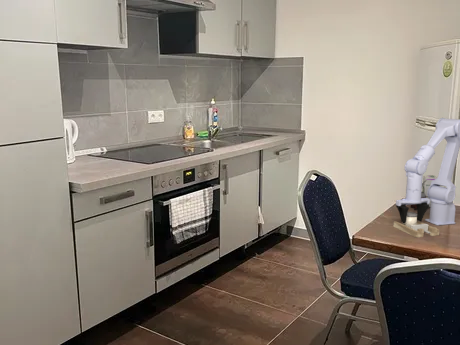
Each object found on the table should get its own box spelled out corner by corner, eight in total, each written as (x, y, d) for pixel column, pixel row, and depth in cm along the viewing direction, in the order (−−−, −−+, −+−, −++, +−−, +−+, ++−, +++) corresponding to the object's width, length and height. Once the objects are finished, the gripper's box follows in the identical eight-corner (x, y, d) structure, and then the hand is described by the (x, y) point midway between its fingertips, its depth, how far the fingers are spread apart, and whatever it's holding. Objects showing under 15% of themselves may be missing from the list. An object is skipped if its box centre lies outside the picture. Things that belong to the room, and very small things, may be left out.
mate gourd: (412, 205, 222) (414, 175, 219) (429, 208, 217) (431, 177, 214) (406, 209, 217) (409, 178, 214) (424, 212, 212) (426, 180, 209)
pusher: (425, 230, 184) (426, 223, 183) (437, 235, 177) (437, 228, 177) (410, 232, 182) (410, 225, 181) (421, 237, 176) (421, 230, 175)
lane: (413, 224, 193) (414, 217, 192) (439, 235, 179) (439, 227, 178) (392, 226, 190) (392, 219, 190) (416, 237, 176) (416, 230, 175)
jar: (418, 228, 188) (419, 213, 187) (412, 230, 184) (413, 216, 183) (406, 225, 192) (407, 210, 190) (399, 227, 188) (400, 213, 187)
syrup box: (436, 207, 220) (438, 177, 217) (423, 206, 221) (425, 177, 218) (433, 204, 225) (435, 175, 223) (420, 203, 226) (423, 174, 224)
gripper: (422, 185, 189) (420, 217, 192) (392, 187, 186) (389, 220, 188) (434, 189, 183) (431, 222, 185) (403, 191, 179) (400, 225, 181)
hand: (411, 221), depth 186 cm, fingers open, 7 cm apart
